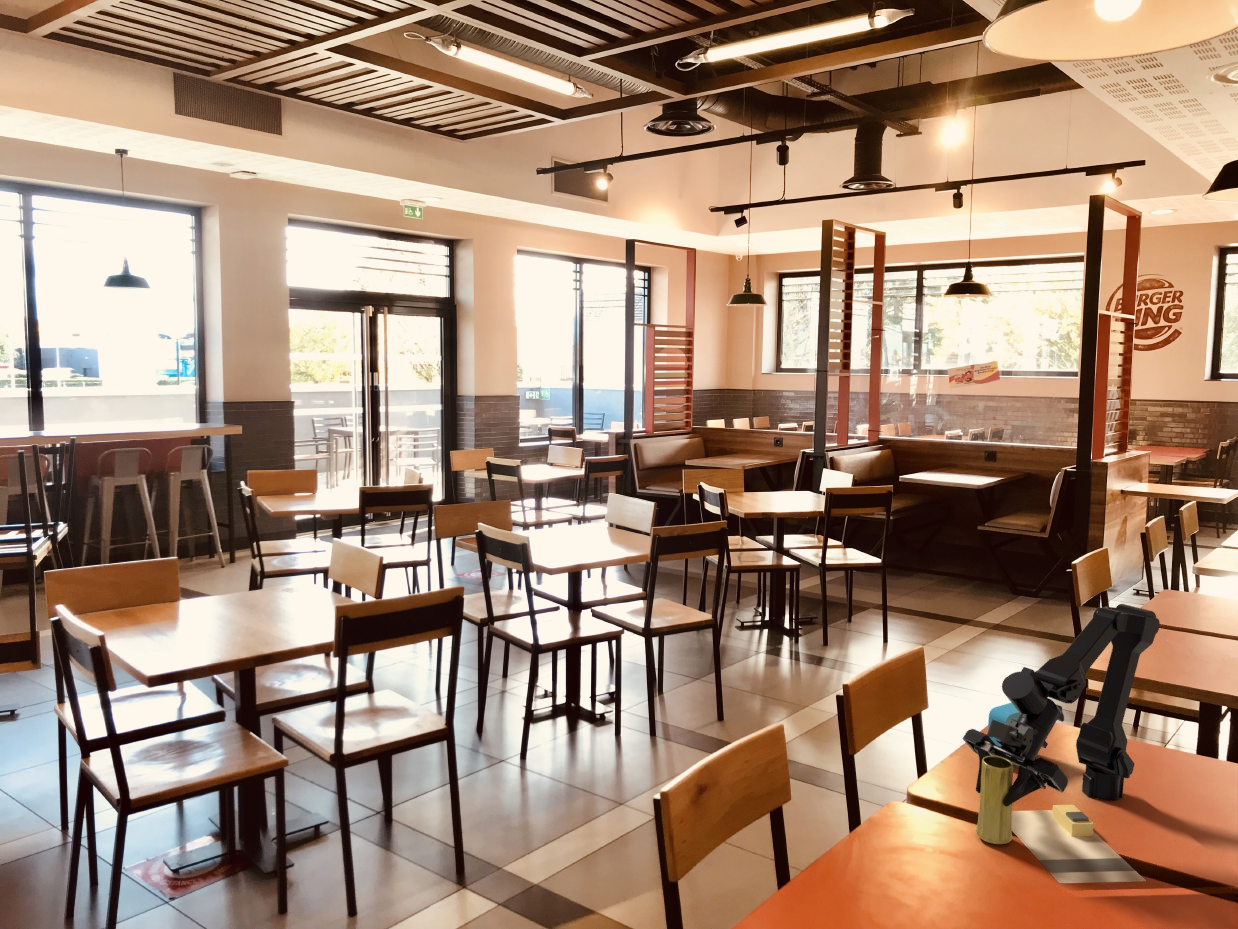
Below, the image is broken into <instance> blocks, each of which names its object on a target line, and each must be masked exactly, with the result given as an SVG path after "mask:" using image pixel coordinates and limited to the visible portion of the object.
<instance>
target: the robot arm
mask: <svg viewBox="0 0 1238 929" xmlns="http://www.w3.org/2000/svg"><path fill="white" fill-rule="evenodd" d="M1160 625H1161V623H1160V619H1159V618H1157V615H1156V613H1155V612H1154V611H1153V610H1149V609H1145V608H1142V607H1138V606H1132V605H1129V604H1125V603H1120V604H1118V605H1117V606H1115V607H1111V606H1102V607H1097V608H1096V609H1095V610H1094V612H1093V615H1092V618H1091V619H1090V621H1089V622H1088V624H1087V625H1086V626H1085V627H1084V628H1083V629H1082V630H1081V632H1080V633H1079V634H1078V635H1077V636H1076V638H1075V639H1074V640H1073V642H1072V643H1071V644H1070V645H1069V647H1068V648H1066V650H1065V651H1064V652H1063V653H1062V654H1060V655H1058V656H1055V657H1053V658H1050V659H1048V660H1047V661H1046V662H1045V663H1044V664H1043V665H1041V667H1039V668H1038V670H1034V669H1032V668H1029V667H1026V666H1023V667H1022V669H1021V671H1015V672H1013V673H1011V674H1009V675H1008V676H1006V677H1005V678H1004V679H1003V680H1002V685H1001V689H1002V692H1003V694H1004V695H1005V697H1006V698H1007V699H1008V701H1009V702H1010V703H1012V704H1013V705H1014V706H1015V708H1016V709H1017V710H1018V711H1019V712H1020V713H1021V714H1020V715H1019V717H1018V719H1017V720H1014V719H1012V720H1010V722H1009V723H1008V725H1007V724H1005V723H1002V722H999V721H996V720H994V719H992V721H991V724H990V727H989V730H988V729H987V734H986V733H984V732H982V731H979V730H977V729H974V728H970V729H968V730H967V731H966V732H965V734H964V735H963V737H962V740H963V742H965V744H966V745H967V746H968V747H969V748H970V749H971V750H972V752H974V754H976V755H978V759H979V761H978V762H979V765H978V773H977V778H976V786H975V792H976V793H977V794H980V789H981V771H982V759H983V758H984V757H986V756H1000V757H1004V758H1006V759H1008V760H1010V761H1011V762H1012V763H1013V764H1015V765H1014V766H1017V767H1018V770H1017V777H1016V779H1015V780H1014V781H1013V784H1012V786H1011V788H1010V790H1009V791H1008V793H1007V795H1006V797H1005V799H1004V801H1003V805H1004V806H1006V807H1007V806H1009V805H1011V804H1012V805H1013V804H1014V803H1015V802H1017V801H1019V800H1020V799H1022V798H1024V797H1026V796H1027V795H1029V794H1031V793H1034V792H1036V791H1038V790H1040V789H1042V790H1046V789H1047V787H1049V788H1050V789H1052V790H1055V791H1057V792H1060V793H1065V792H1064V791H1065V790H1066V788H1067V786H1069V785H1068V783H1069V779H1068V776H1067V775H1066V773H1064V771H1063V770H1062V769H1061V768H1060V766H1059V765H1058V764H1057V763H1054V762H1052V761H1049V760H1048V759H1046V758H1042V757H1038V758H1037V756H1038V754H1039V752H1040V750H1041V749H1042V748H1043V749H1046V748H1047V747H1048V745H1049V744H1048V742H1047V741H1046V740H1047V738H1048V736H1049V735H1050V733H1051V731H1052V730H1053V728H1054V726H1055V724H1056V722H1057V721H1060V722H1062V723H1063V722H1064V721H1065V715H1064V713H1063V712H1064V711H1063V707H1062V706H1061V705H1058V704H1056V703H1055V702H1054V701H1053V700H1056V701H1057V702H1061V703H1064V704H1070V705H1071V704H1073V703H1075V702H1076V701H1077V700H1078V699H1079V698H1080V696H1081V695H1082V692H1083V691H1084V689H1085V687H1086V685H1087V684H1086V683H1087V681H1086V675H1087V672H1088V671H1089V670H1090V668H1091V667H1093V664H1094V663H1095V662H1096V661H1097V660H1098V658H1099V657H1100V656H1101V655H1102V653H1103V652H1104V650H1105V649H1106V648H1107V647H1108V646H1109V644H1110V643H1111V647H1112V649H1111V652H1110V657H1109V660H1108V663H1107V668H1106V671H1105V674H1104V675H1105V676H1104V680H1103V684H1102V687H1101V692H1100V695H1099V699H1098V704H1097V708H1096V711H1095V715H1094V717H1092V718H1091V719H1090V720H1089V721H1087V722H1082V723H1081V725H1080V729H1079V734H1078V737H1077V739H1076V742H1075V748H1076V753H1077V759H1078V763H1080V764H1081V765H1085V772H1083V773H1082V774H1083V775H1082V786H1081V792H1082V794H1084V795H1085V796H1086V797H1087V798H1090V799H1093V800H1094V799H1097V800H1099V801H1105V802H1115V801H1118V800H1119V799H1123V796H1124V784H1125V779H1129V778H1130V777H1131V775H1132V774H1133V771H1134V768H1135V761H1134V760H1133V759H1132V757H1131V756H1130V755H1129V753H1127V746H1128V738H1127V736H1126V732H1125V730H1124V727H1123V723H1124V718H1125V714H1126V710H1127V708H1128V703H1129V699H1130V695H1131V690H1132V689H1133V688H1132V686H1133V683H1134V681H1135V680H1134V679H1135V676H1136V672H1137V669H1138V665H1139V660H1140V656H1141V655H1142V653H1144V651H1146V650H1147V649H1148V648H1149V647H1150V646H1152V645H1153V644H1154V640H1155V637H1156V634H1158V632H1159V631H1160ZM990 737H994V738H997V739H996V741H997V742H998V743H999V744H1001V745H1002V746H1001V747H1000V746H998V745H996V744H995V743H994V742H993V741H992V740H991V738H990ZM1006 754H1007V755H1009V756H1011V757H1009V756H1007V755H1006ZM1036 755H1037V756H1036ZM1018 760H1019V761H1018ZM1020 761H1021V762H1020Z"/></svg>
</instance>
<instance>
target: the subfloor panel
mask: <svg viewBox="0 0 1238 929" xmlns="http://www.w3.org/2000/svg"><path fill="white" fill-rule="evenodd" d="M1052 810H1053V809H1051V810H1049V809H1047V810H1044V809H1043V810H1042V809H1041V810H1012V821H1011V822H1012V833H1014V834H1015V835H1016V837H1017V838H1018V839H1019V840H1020V841H1021V842H1022V844H1023V845H1025V847H1026V848H1027V849H1028V850H1029V851H1030V852H1031V853H1032V855H1033V856H1034V857H1035V858H1036V859H1037V860H1038V861H1039V862H1040V864H1041V865H1042V866H1043V867H1044V868H1045V869H1046V870H1047V871H1048V872H1049V873H1050V874H1051V876H1052V877H1053V878H1054V879H1055V880H1056V881H1057V882H1058V883H1059V884H1084V883H1086V884H1088V883H1089V884H1091V883H1128V882H1131V883H1132V882H1134V883H1135V882H1147V880H1146V879H1145V878H1144V877H1143V876H1142V875H1140V873H1138V872H1137V871H1136V870H1135V869H1134V868H1133V867H1132V866H1131V865H1130V864H1129V863H1128V862H1127V861H1126V860H1125V859H1123V857H1122V856H1120V855H1119V854H1118V853H1117V851H1115V850H1114V849H1113V848H1112V847H1111V846H1110V845H1109V844H1108V843H1106V842H1105V841H1104V840H1103V839H1102V838H1101V836H1099V835H1098V834H1097V833H1096V832H1095V831H1094V830H1093V836H1071V835H1070V834H1069V833H1068V832H1067V831H1066V830H1065V829H1064V828H1063V827H1062V826H1061V825H1060V824H1059V823H1058V822H1057V821H1056V820H1055V819H1054V818H1053V817H1052Z"/></svg>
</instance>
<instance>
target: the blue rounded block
mask: <svg viewBox="0 0 1238 929" xmlns="http://www.w3.org/2000/svg"><path fill="white" fill-rule="evenodd" d="M1020 714H1021V713H1020V712H1019V711H1018V710H1017V709H1016V708H1015V706H1014V705H1013V704H1012V703H1011V702H1008V703H1006V704H1005V703H1004V704H1001V705H999V706H998V705H997V706H995V707H993V708H991V709H990V711H989V713H988V723H987V726H988V727H987V731H988V730H989V727H990V724H991V721H992V719H994V720H996V721H999V722H1002V723H1005V724H1007V725H1008V723H1009V722H1010V720H1012V719H1014V720H1017V719H1018V717H1019V715H1020ZM990 738H991V740H992V741H993V742H994V743H995V744H996V745H998V746H1000V747H1001V746H1002V745H1001V744H999V743H998V742H997V741H996V739H997V738H994V737H990ZM1006 755H1007V754H1006ZM1007 756H1009V755H1007ZM1037 756H1038V754H1037V755H1036V757H1037ZM1009 757H1011V756H1009ZM1018 761H1019V760H1018ZM1020 762H1021V761H1020ZM1013 766H1016V765H1015V764H1013Z"/></svg>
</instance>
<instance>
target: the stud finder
mask: <svg viewBox="0 0 1238 929" xmlns="http://www.w3.org/2000/svg"><path fill="white" fill-rule="evenodd" d="M1051 810H1052V817H1053V818H1054V819H1055V820H1056V821H1057V822H1058V823H1059V824H1060V825H1061V826H1062V827H1063V828H1064V829H1065V830H1066V831H1067V832H1068V833H1069V834H1070V835H1071V836H1093V831H1094V822H1093V821H1091V819H1089V817H1088V816H1087V815H1086V814H1085V813H1084V812H1082V811H1081V810H1080V809H1079V808H1077V806H1076V805H1074V804H1052V809H1051Z"/></svg>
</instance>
